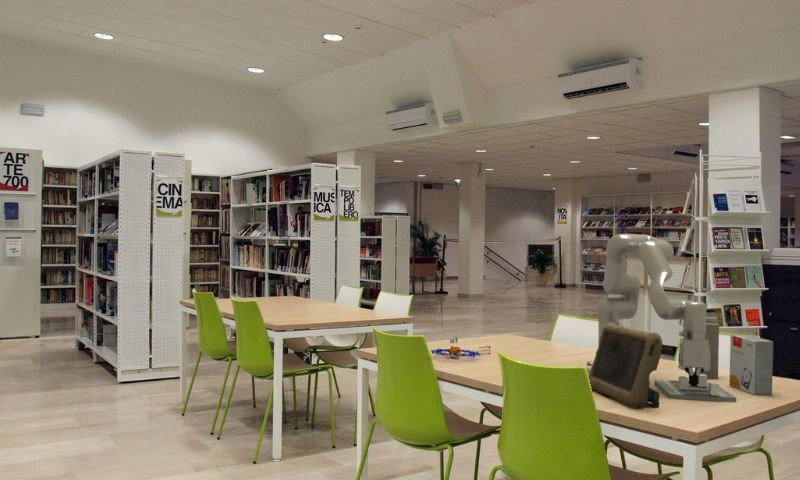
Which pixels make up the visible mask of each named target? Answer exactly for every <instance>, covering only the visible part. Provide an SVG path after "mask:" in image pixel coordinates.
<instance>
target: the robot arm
mask: <svg viewBox="0 0 800 480" xmlns="http://www.w3.org/2000/svg"><path fill="white" fill-rule="evenodd" d="M605 252H606V253H605V255H606V264H605V268H604V275H603V276H604V277H603V286H602V287H603V290H604V292H605V293H607V294H608V295H615V296H610V297H609V296H608V297H602V298H600V299H599V300H598V302H597V304H596V314H597V315H596V316H597V323H598V334H597V335H598V338H597V339H598V340H597V341H598V343H597V344H598V346H597V348H598V347H599V340H600V337H601V334H602V331H603V328H604V326H605V325H606V324H607V323H609V322H613V323H615V324H616V325H618V326H621V324H620V322H619V320H630V319H633V318H634V317H635V315H636V314H637V311H638V307H639V306H638V305H639V301H640V292H641V281H640V278H639V276H638V275H637V274H635V273H634V272H631V271H627V270H628V260H627V257H626V255H629V256H630V255H631V256H632V255H634V256H636V255H637V256H639V259H640V260H641V263H642V265H643V266H644V269H645V271H646V273H647V275H648V277H649V279H650V284H649V287H648V288H649V290H648V296H649V297H648V298H649V301H650V303H651V305H652V308H653V310H654V311H655V313H656V314H657V316H658V317H659V318H660V319H662V320H665V321H671V320H672V321H675V320H679V321H680V320H683V322H682V323H683V324H682V325H683V326H682V327H683V328H682V331H679V332H678V336H680V337H682V338H681V339H680V343H679V349H678V356H677V357H678V358H677V359H678V360H677V361H678V366H677V368H678V369H679V370H682V371H685V373H687V374H688V381H689V384H690V385H691V386H692V387H694V386H695V387H697V384H699V376H700V374H701V373H702V372H703V371H709V370H710V348H709V342H708V340H706V309H707V305H706V303H705V302H704V301H703V302H702V301H691V300H689V299H684V298H683V299H682V298H681V299H680V298H678V299H677V298H675V299H674V298H673V299H669V298H668V297H667V294H666V293H665V289H664V284H665V282H668V280H670V279H671V278H672V277H673V274H674V272H673V270H672V268H671V266H670V265H669V261H671V260H672V259H673V257H674V255H675V254H674V253H675V252H674V248H673V245H672V244H671V243H670V242H668V241H666V240H664V239H661V238H658V237H654V236H651V235H648V234H643V233H642V234H638V233H637V234H636V233H619V234H615V235H612V237H610V239H608V241H607V243H606V249H605ZM616 295H619V296H616ZM593 362H594V361H590V360H589V361H587V360H586V366H588V367H592V365H593ZM693 368H694V371H695V372H694V374H693Z"/></svg>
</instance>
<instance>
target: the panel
mask: <svg viewBox="0 0 800 480" xmlns="http://www.w3.org/2000/svg"><path fill="white" fill-rule="evenodd" d="M678 381H679V380H663V379H662V380H660V379H655V380H654V385H655V386H656V387H657V386H658V387H659V388H660V389H659V388H658V387H657V388H658V389H659V390H660V391H661V392H662V393H664V394H665V396H666V397H667V398H669V399H671V400H672V399H673V400H691V401H708V402H728V403H737V397H736V396H734V395H733V394H731V393H730V392H729V391H727V390H726V389H725V388H723V387H721V386H720V385H719V396H718V395H710V394H709V393H708V385H709V382H707V387H700V386H698V385H697V387H695V386H694V387H692V386H691V385H690V384H689V380H688V390H684V389H680V388H679V387H678Z"/></svg>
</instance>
